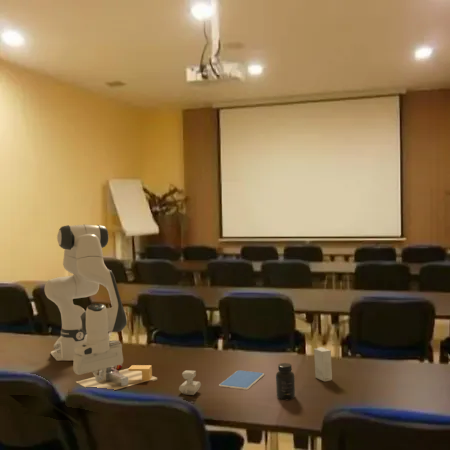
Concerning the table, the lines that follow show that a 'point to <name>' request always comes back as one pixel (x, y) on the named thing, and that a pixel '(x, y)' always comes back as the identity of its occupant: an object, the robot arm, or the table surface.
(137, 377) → the board
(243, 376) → the blue notebook
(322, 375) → the skincare box
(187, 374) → the stamp
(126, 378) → the link
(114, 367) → the soda can
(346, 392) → the table surface
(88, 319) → the robot arm
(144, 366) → the block
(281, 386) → the supplement bottle
